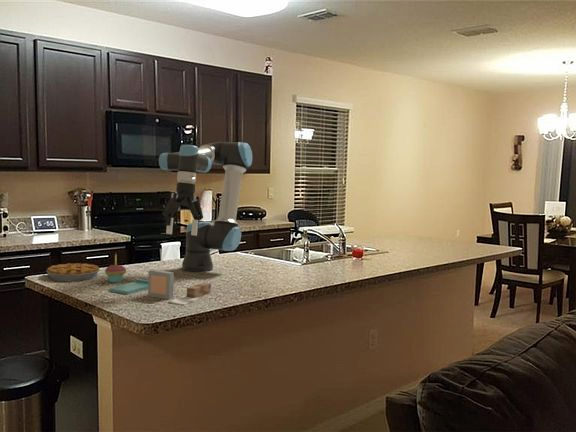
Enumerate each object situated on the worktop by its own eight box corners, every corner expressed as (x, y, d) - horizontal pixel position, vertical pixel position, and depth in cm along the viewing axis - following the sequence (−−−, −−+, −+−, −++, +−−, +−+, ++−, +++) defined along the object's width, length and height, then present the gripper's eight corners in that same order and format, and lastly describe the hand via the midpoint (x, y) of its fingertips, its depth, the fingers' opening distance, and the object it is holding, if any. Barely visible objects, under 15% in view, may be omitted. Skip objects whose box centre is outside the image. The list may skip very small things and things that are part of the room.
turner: (199, 291, 215) (199, 281, 215) (214, 293, 213) (214, 283, 212) (168, 303, 195) (168, 292, 195) (184, 305, 193) (184, 295, 192)
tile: (152, 294, 207) (152, 269, 206) (173, 298, 203) (173, 272, 202) (147, 296, 204) (148, 270, 203) (168, 299, 200) (169, 273, 199)
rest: (136, 283, 223) (136, 278, 223) (154, 286, 219) (154, 281, 219) (109, 291, 208) (109, 285, 208) (127, 294, 205) (127, 288, 205)
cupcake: (104, 279, 229) (105, 252, 228) (125, 278, 232) (125, 251, 231) (105, 283, 221) (105, 255, 220) (126, 283, 224) (127, 255, 223)
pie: (95, 270, 247) (95, 260, 246) (103, 280, 228) (103, 269, 227) (44, 273, 236) (44, 262, 236) (47, 283, 217) (47, 271, 217)
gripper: (169, 179, 204) (164, 234, 203) (214, 186, 224) (209, 236, 224) (156, 179, 208) (151, 232, 208) (201, 186, 229) (197, 235, 228)
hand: (181, 234), depth 216 cm, fingers open, 13 cm apart
